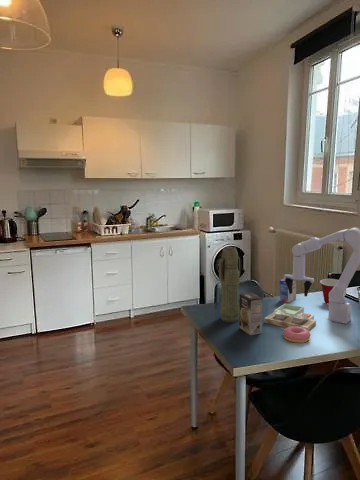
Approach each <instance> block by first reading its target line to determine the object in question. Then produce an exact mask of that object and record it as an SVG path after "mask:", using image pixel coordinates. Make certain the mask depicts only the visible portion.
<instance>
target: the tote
mask: <svg viewBox="0 0 360 480" xmlns="http://www.w3.org/2000/svg"><path fill="white" fill-rule="evenodd" d="M277 310H285V311H286V314H289V315H293V316H295V315H297V314H300V313H304V312H305V307H304V306H300V305H296V304H295V305H294V304H289V303H283V304H282V305H280V306H279V307H277V308H276V309H274V311H273V312H277Z"/></svg>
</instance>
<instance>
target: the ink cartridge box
mask: <svg viewBox="0 0 360 480" xmlns="http://www.w3.org/2000/svg"><path fill="white" fill-rule="evenodd" d="M285 280H286V279H284V278H283V279H280V280H279V301H280V302H283V303H286V304H289V303H290V302H292V301H295V300H297V280H293V286H292V293H291V294H289V290H288V286H287V284H286V282H285Z"/></svg>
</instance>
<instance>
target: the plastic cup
mask: <svg viewBox="0 0 360 480" xmlns="http://www.w3.org/2000/svg"><path fill="white" fill-rule="evenodd" d="M338 280H339V279H335V278H323V279H321V280H319V283H320V285H321V290H322V297H323V302H324V303H325V304H326V305H329V292H330V291H331V290H332V289H333V287H334V286H336V284H337V282H338Z"/></svg>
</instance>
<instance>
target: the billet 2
mask: <svg viewBox="0 0 360 480" xmlns="http://www.w3.org/2000/svg"><path fill="white" fill-rule="evenodd" d="M306 320H307V315H303V314H297V315H295V316H294V317H293V323H295V324H299V325H304V324H305V323H306Z"/></svg>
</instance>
